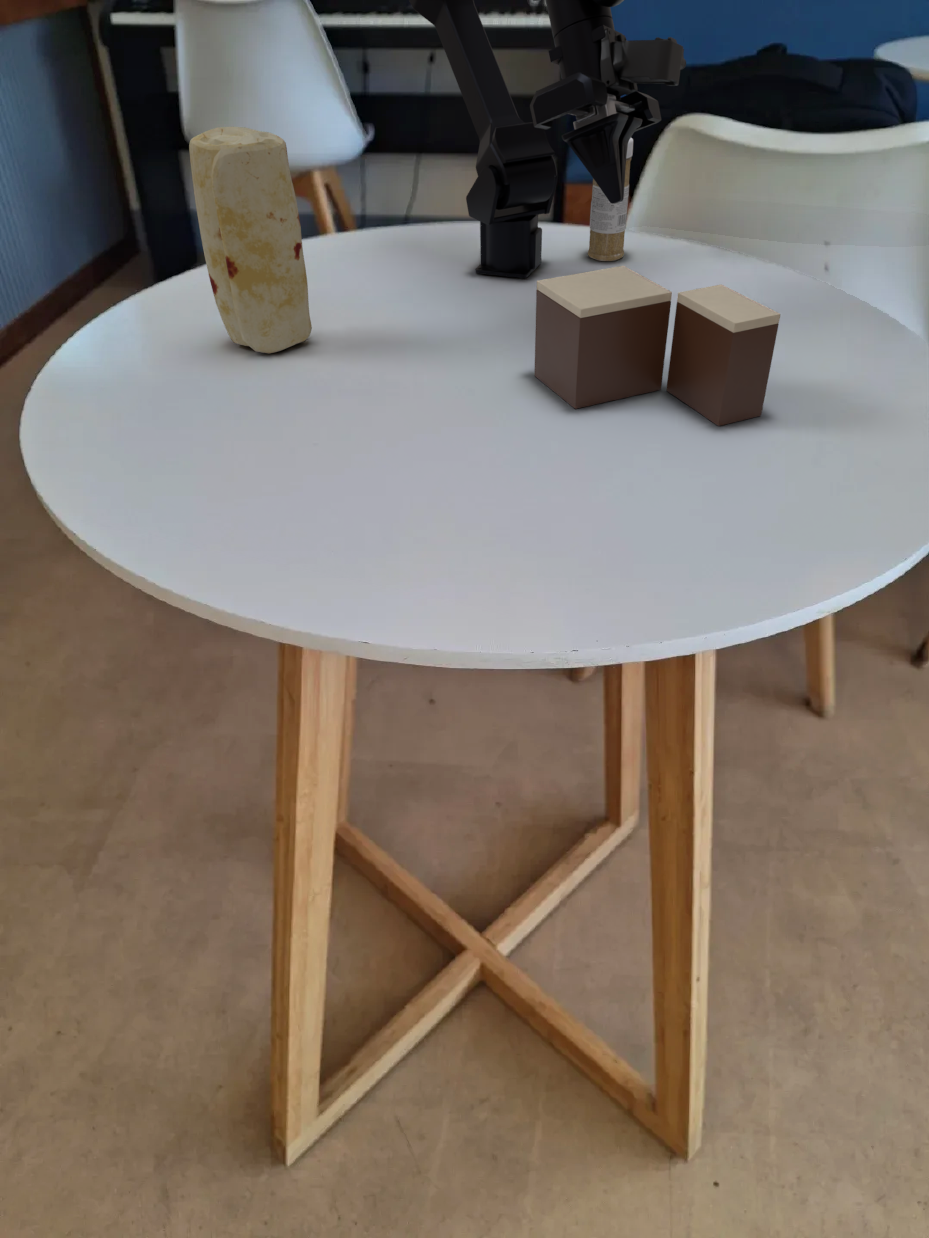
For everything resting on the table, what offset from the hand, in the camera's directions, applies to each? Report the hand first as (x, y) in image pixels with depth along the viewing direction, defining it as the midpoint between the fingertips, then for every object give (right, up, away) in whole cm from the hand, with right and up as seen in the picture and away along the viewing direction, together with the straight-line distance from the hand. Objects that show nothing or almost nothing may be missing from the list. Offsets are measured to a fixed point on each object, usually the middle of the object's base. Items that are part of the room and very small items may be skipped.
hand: (617, 202), depth 92 cm
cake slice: (+7, -22, -9) cm, 25 cm away
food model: (-35, -13, +4) cm, 38 cm away
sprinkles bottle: (+3, +4, +24) cm, 25 cm away
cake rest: (-3, -19, -5) cm, 20 cm away
